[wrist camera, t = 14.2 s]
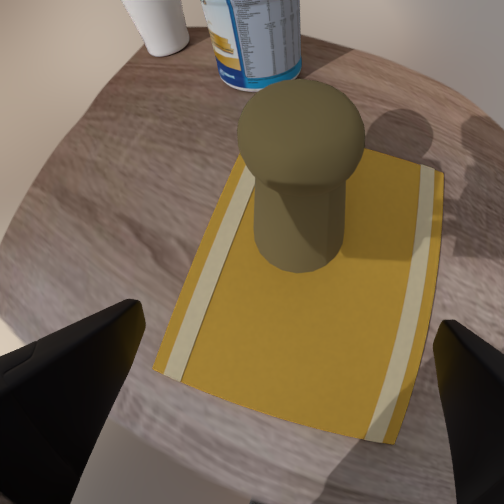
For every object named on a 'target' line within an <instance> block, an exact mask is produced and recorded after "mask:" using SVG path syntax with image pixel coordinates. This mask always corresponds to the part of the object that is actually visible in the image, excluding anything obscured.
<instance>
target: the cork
mask: <svg viewBox="0 0 504 504" xmlns="http://www.w3.org/2000/svg"><path fill="white" fill-rule="evenodd" d="M237 136H238V147H239V151H240V154H241V156H242V158H243V160H244V162H245V164H246V166H247V168H248V169H249V171H250V172H251V173H252V175H253V176H254V177H255V197H254V226H253V228H254V241H255V243H256V245H257V247H258V250H259V252H260V254H261V255H262V256H263V257H264V258H265V259H266V260H267V261H268V262H269V263H270V264H272V265H274V266H275V267H277V268H279V269H281V270H283V271H288V272H293V273H305V272H313V271H315V270H317V269H319V268H322V267H324V266H326V265H327V264H328V263H329V262H330V261H331V260H332V259H334V258H335V257H336V255H337V254H338V252H339V250H340V248H341V246H342V244H343V237H344V228H345V200H346V180H347V179H349V178H350V176H351V175H352V174H353V173H354V172H355V170H356V168H357V166H358V164H359V162H360V160H361V158H362V155H363V152H364V145H365V130H364V124H363V121H362V119H361V116H360V114H359V111H358V110H357V108H356V107H355V105H354V104H353V103H352V102H351V100H350V99H349V98H348V97H347V96H346V95H345V94H344V93H342V92H341V91H339V90H338V89H336V88H334V87H333V86H330V85H328V84H325V83H322V82H319V81H314V80H306V79H292V80H283V81H280V82H277V83H273V84H270V85H268V86H266V87H265V88H263V89H261V90H260V91H258V92H257V93H256V94H255V95H254V96H253V97H252V98H251V99H250V100H249V101H248V103H247V104H246V106H245V107H244V109H243V111H242V114H241V116H240V119H239V121H238V128H237Z"/></svg>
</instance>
